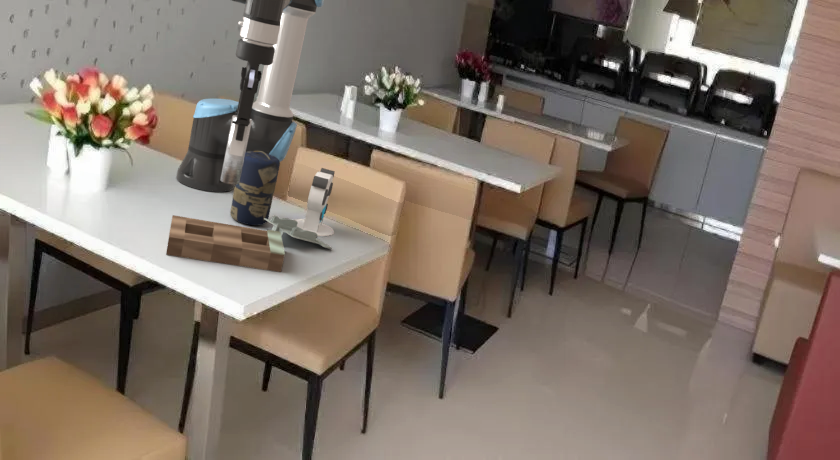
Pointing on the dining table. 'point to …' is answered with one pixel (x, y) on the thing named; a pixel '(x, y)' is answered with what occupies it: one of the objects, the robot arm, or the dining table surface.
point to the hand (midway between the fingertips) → (235, 151)
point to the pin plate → (225, 244)
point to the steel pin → (233, 159)
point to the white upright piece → (318, 204)
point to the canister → (255, 188)
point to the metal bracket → (294, 230)
